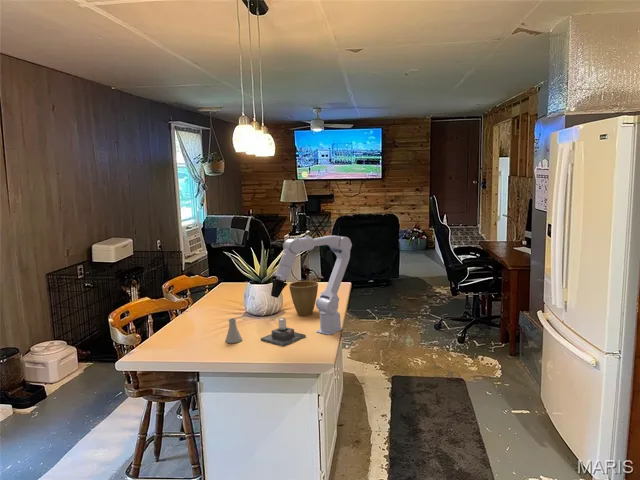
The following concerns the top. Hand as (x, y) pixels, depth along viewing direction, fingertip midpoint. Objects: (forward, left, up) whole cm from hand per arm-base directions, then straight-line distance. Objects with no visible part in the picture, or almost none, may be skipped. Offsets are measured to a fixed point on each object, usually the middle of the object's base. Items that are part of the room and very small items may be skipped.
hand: (274, 296), depth 202 cm
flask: (+6, -22, -22) cm, 31 cm away
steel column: (-8, -5, -20) cm, 22 cm away
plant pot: (-41, -22, -22) cm, 51 cm away
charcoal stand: (-8, -5, -21) cm, 23 cm away
